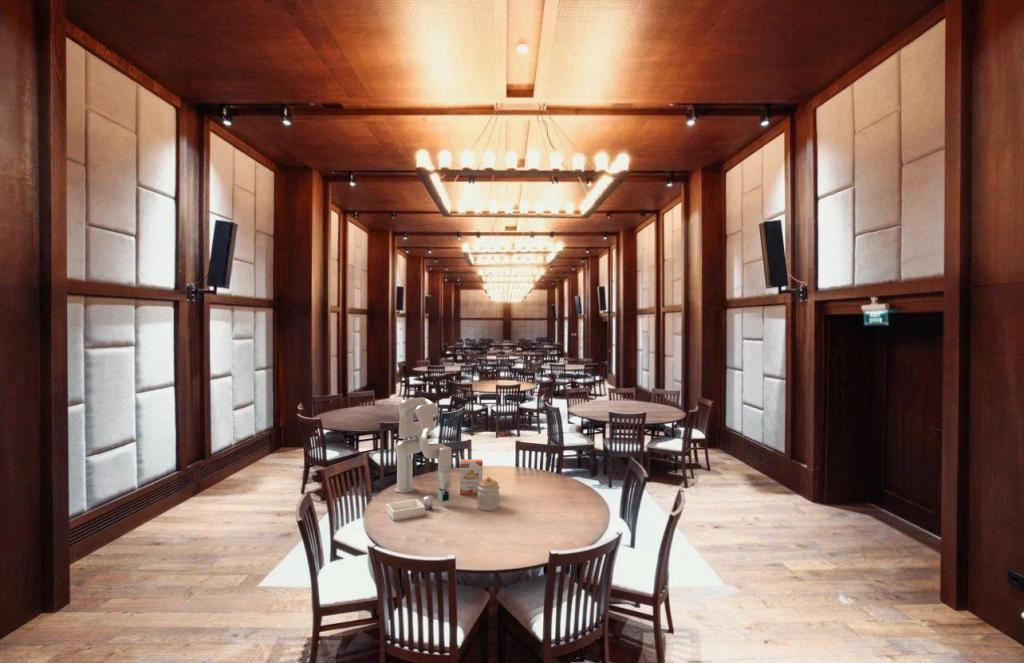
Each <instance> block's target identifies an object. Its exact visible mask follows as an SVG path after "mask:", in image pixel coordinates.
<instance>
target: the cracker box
mask: <svg viewBox="0 0 1024 663" xmlns="http://www.w3.org/2000/svg"><path fill="white" fill-rule="evenodd" d="M459 464H460V465H459V467H460V468H459V474H460V475H459V495H466V496H468V495H478V494H477V492H478V488H477V487H478V486H479V482H481V481H482V480H483V465H484V464H483V459H482V458H481V459H480V458H479V459H460V460H459Z"/></svg>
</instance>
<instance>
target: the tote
mask: <svg viewBox="0 0 1024 663" xmlns="http://www.w3.org/2000/svg"><path fill="white" fill-rule="evenodd" d="M385 514H387V516H388V515H389V516H388V517H389V518H390V520H392V522H396V521H401V520H407V519H408V520H409V519H413V518H419V517H424V516H426V510H425V506H424V503H422V502H421V501H420V500H419V499H418V498H414V499H410V500H409V499H408V500H401V501H397V502H396V501H394V502H391V503H390V502H388V503H386V504H385Z"/></svg>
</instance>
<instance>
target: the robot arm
mask: <svg viewBox="0 0 1024 663" xmlns="http://www.w3.org/2000/svg"><path fill="white" fill-rule="evenodd" d="M414 412H415V413H414ZM398 413H399V420H398V421H399V423H398V435H399V437H400V438H401V439H403V440H400V441H398V442H397V443H396V445H395V453H396V454H395V455H396V471H397V472H396V487H394V492H396V493H400V494H402V493H404V494H405V493H411V492H414V491H415V489H416V488H415V486H414V485H413V460H412V458H411V457H410V455H415V454H418V453H420V452H422V455H423V456H424V458H426V459H428V460H430V459H435V458H438V461H437V462H438V464H437V482H436V484H437V486H438V487H439V490H444V494H443V502H449V501H448V499H449V492H450V491H451V490H450V489H451V485H452V484H451V479H452V477H451V471H452V448H451V447H450V446H446V444H444V443H436V444H431V445H430V444H429V442H428V435H429V434H430V433H432V432H433V431H434V430H435V429H436V422H435V421H434V418H435V417H437V416H438V414H439V408H438V406H437V405H436V403H434V402H433V401H432V400H430V399H428V398H426V397H423V396H422V397H412V398H406V399H402V400H400V402H399V404H398ZM413 413H414V414H416V415H415V416H416V418H417V421H414V415H413ZM439 490H438V491H439ZM445 490H447V491H445Z"/></svg>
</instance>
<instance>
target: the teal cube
mask: <svg viewBox="0 0 1024 663" xmlns="http://www.w3.org/2000/svg"><path fill="white" fill-rule="evenodd" d="M445 491H447V490H445ZM450 493H451V492H450V491H449V499H448V501H447V502H449V501H450V495H451V494H450ZM443 494H444V490H438V494H437V495H438V496H437V497H438V498H437V499H438V500H439V501H440V502H443V503H444V501H443Z"/></svg>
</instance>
